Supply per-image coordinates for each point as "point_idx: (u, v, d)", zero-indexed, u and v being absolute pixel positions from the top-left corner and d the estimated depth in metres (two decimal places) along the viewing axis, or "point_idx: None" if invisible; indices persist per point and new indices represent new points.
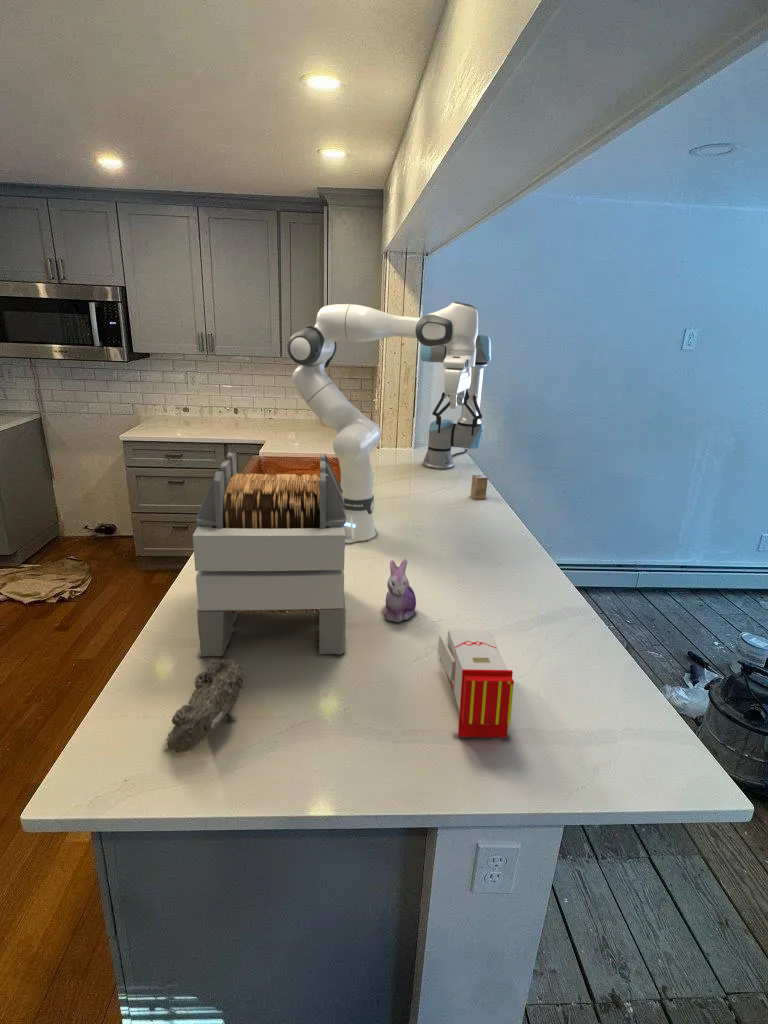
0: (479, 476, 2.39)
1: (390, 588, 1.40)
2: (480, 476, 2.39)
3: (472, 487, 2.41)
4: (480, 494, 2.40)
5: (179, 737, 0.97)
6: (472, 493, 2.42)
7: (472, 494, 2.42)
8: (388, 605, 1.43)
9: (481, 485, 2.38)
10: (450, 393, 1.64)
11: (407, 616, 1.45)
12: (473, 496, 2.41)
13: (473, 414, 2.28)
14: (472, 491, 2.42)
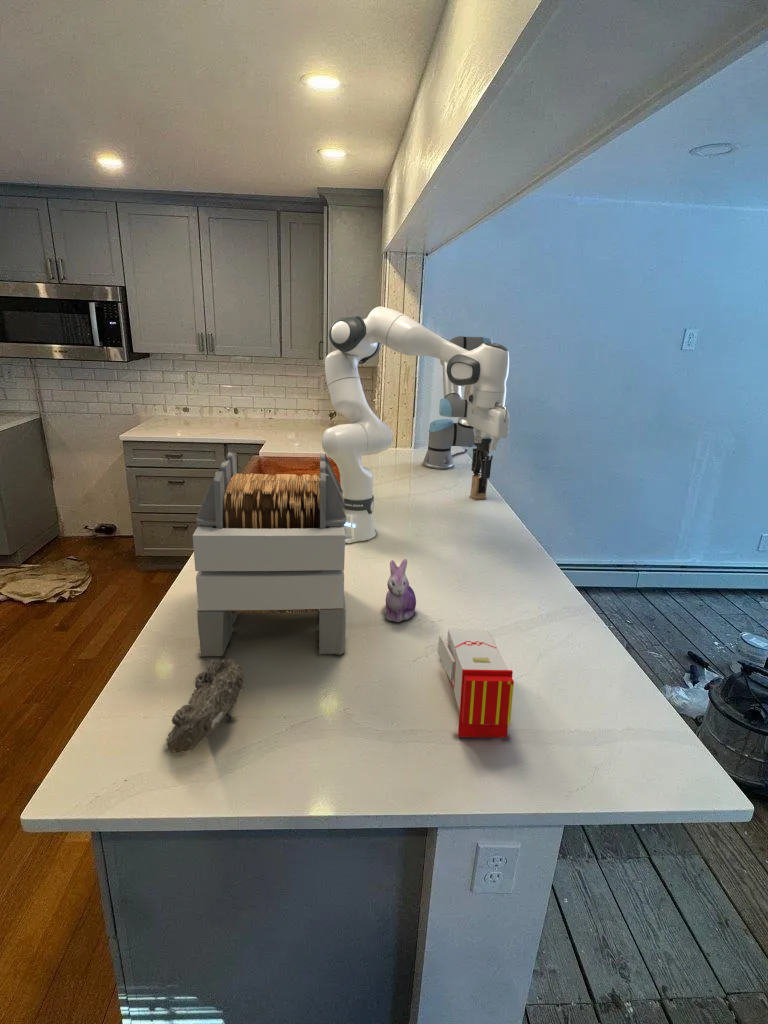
0: (479, 476, 2.39)
1: (390, 588, 1.40)
2: (480, 476, 2.39)
3: (472, 487, 2.41)
4: (480, 494, 2.40)
5: (179, 737, 0.97)
6: (472, 493, 2.42)
7: (472, 494, 2.42)
8: (388, 605, 1.43)
9: None
10: None
11: (407, 616, 1.45)
12: (473, 496, 2.41)
13: None
14: (472, 491, 2.42)
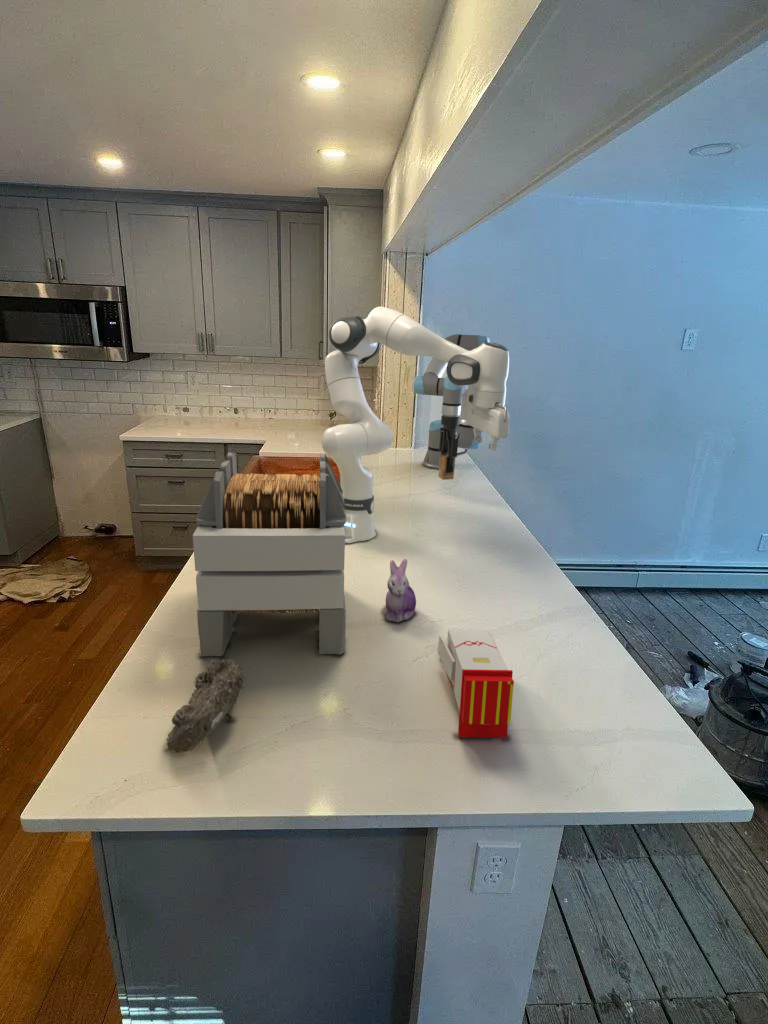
0: (447, 455, 2.36)
1: (390, 588, 1.40)
2: None
3: (440, 467, 2.38)
4: (448, 474, 2.36)
5: (179, 737, 0.97)
6: (440, 473, 2.38)
7: (440, 474, 2.38)
8: (388, 605, 1.43)
9: None
10: None
11: (407, 616, 1.45)
12: (441, 476, 2.38)
13: None
14: (440, 471, 2.38)
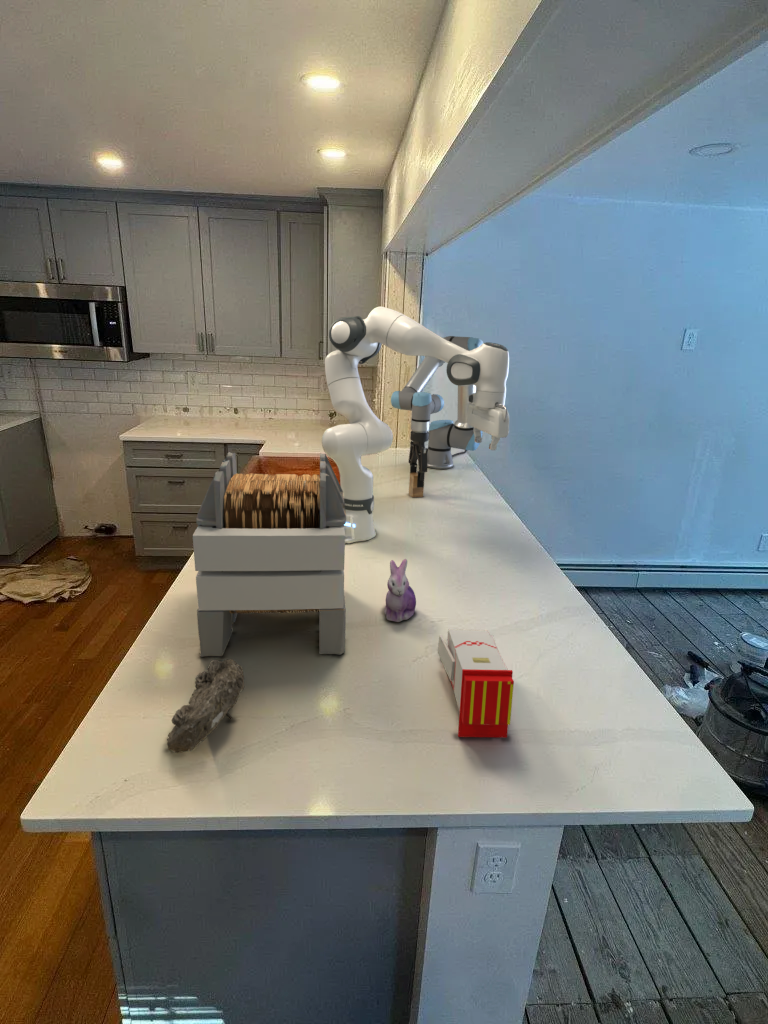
0: (416, 474, 2.38)
1: (390, 588, 1.40)
2: None
3: (410, 485, 2.40)
4: (417, 492, 2.39)
5: (179, 737, 0.97)
6: (410, 491, 2.41)
7: (410, 492, 2.41)
8: (388, 605, 1.43)
9: None
10: None
11: (407, 616, 1.45)
12: (411, 494, 2.40)
13: None
14: (410, 489, 2.41)
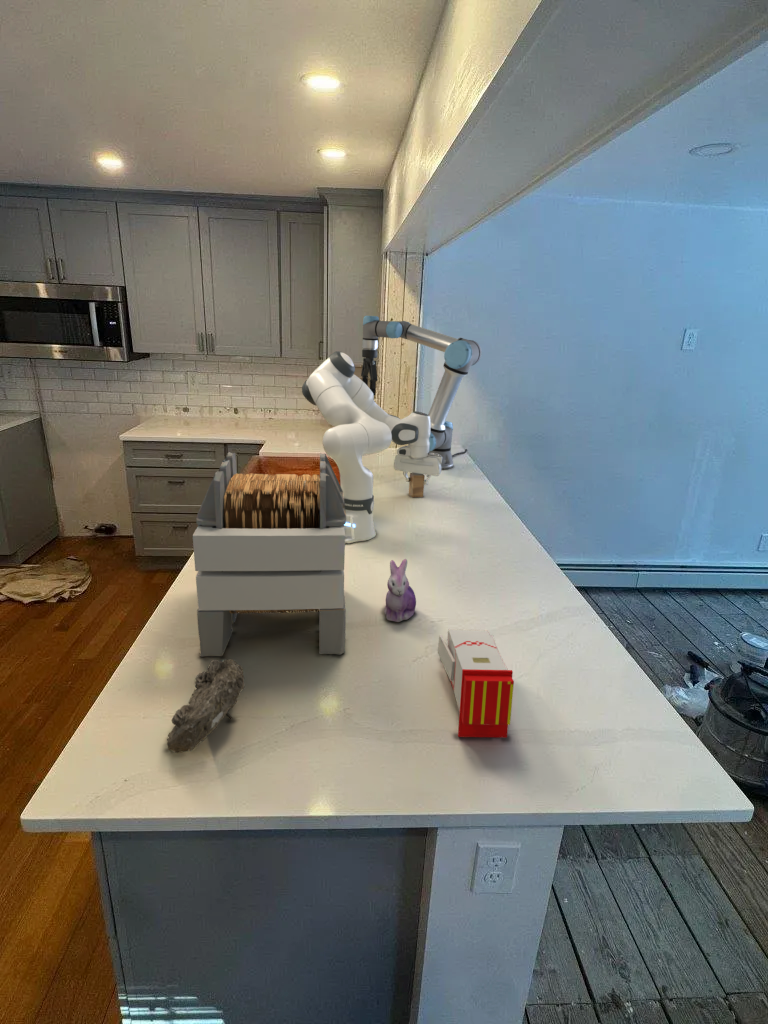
0: (416, 474, 2.38)
1: (390, 588, 1.40)
2: None
3: (410, 485, 2.40)
4: (417, 492, 2.39)
5: (179, 737, 0.97)
6: (410, 491, 2.41)
7: (410, 492, 2.41)
8: (388, 605, 1.43)
9: (418, 483, 2.37)
10: None
11: (407, 616, 1.45)
12: (411, 494, 2.40)
13: None
14: (410, 489, 2.41)
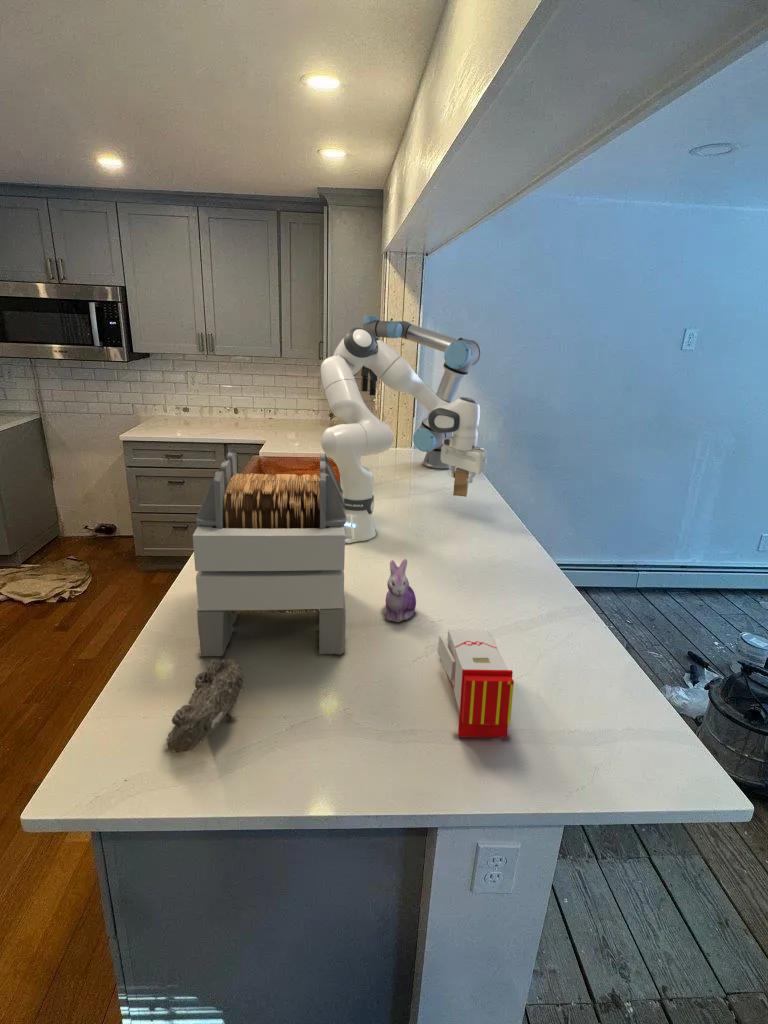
0: (461, 469, 2.09)
1: (390, 588, 1.40)
2: (463, 469, 2.09)
3: None
4: (459, 490, 2.09)
5: (179, 737, 0.97)
6: None
7: None
8: (388, 605, 1.43)
9: (460, 479, 2.08)
10: None
11: (407, 616, 1.45)
12: None
13: None
14: None
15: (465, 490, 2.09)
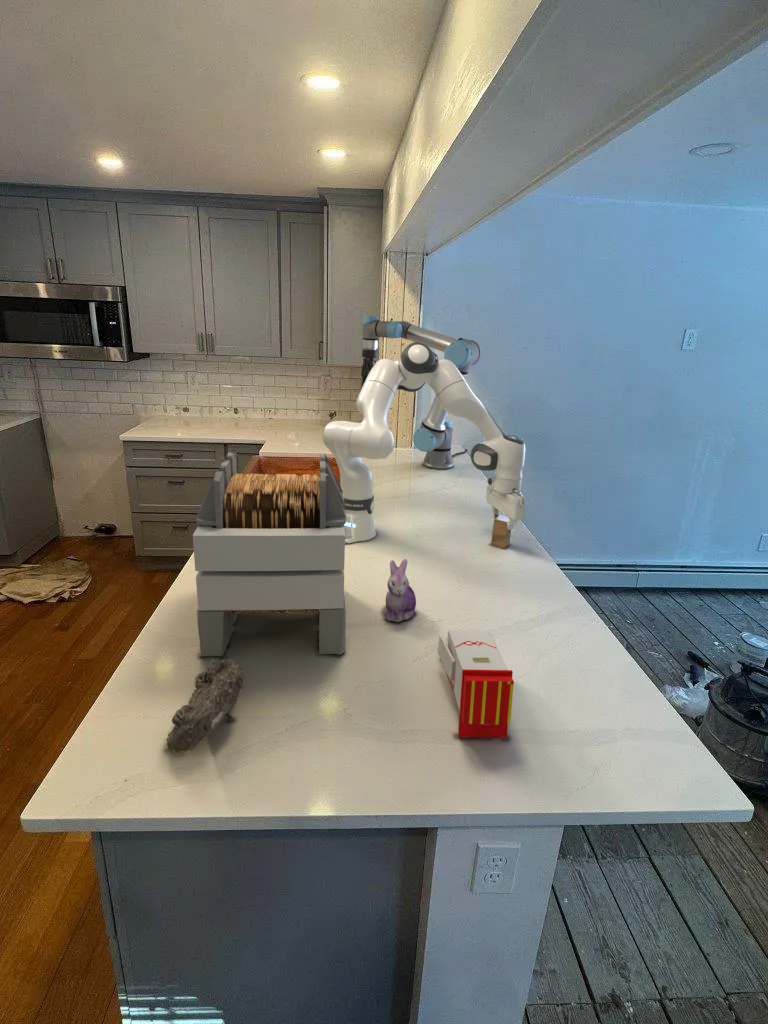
0: (502, 518, 1.91)
1: (390, 588, 1.40)
2: (504, 518, 1.91)
3: None
4: (497, 540, 1.92)
5: (179, 737, 0.97)
6: None
7: None
8: (388, 605, 1.43)
9: (499, 529, 1.91)
10: None
11: (407, 616, 1.45)
12: None
13: None
14: None
15: (503, 541, 1.91)
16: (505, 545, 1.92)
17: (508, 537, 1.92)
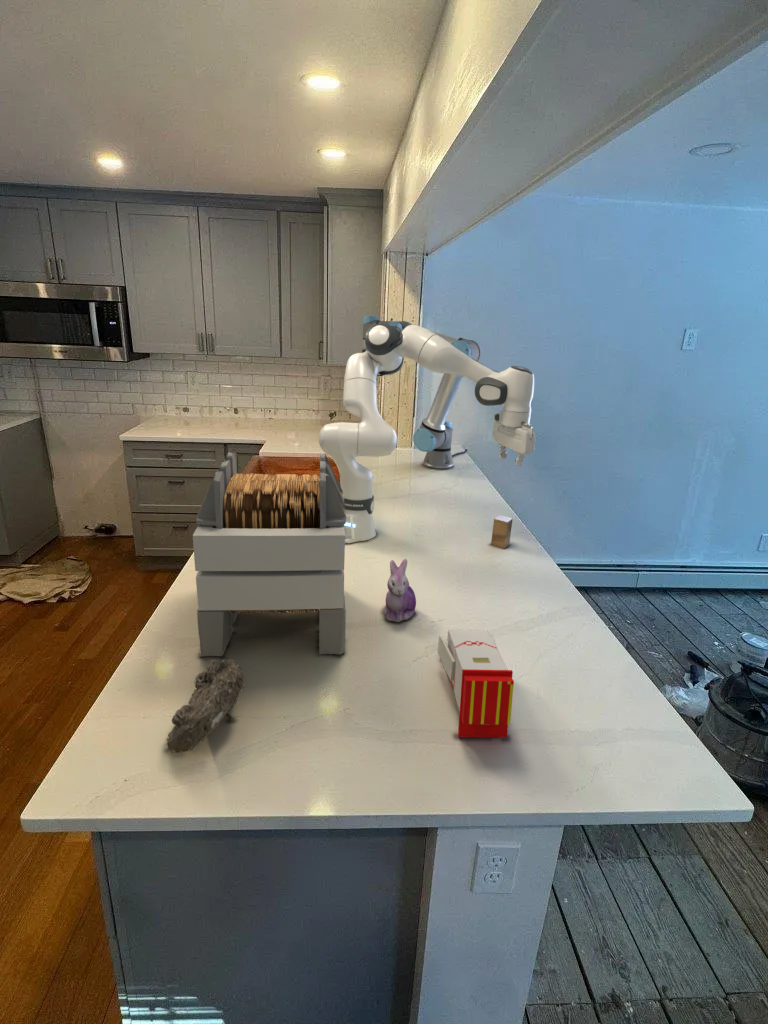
0: (502, 518, 1.91)
1: (390, 588, 1.40)
2: (504, 518, 1.91)
3: None
4: (497, 540, 1.92)
5: (179, 737, 0.97)
6: None
7: None
8: (388, 605, 1.43)
9: (499, 529, 1.91)
10: None
11: (407, 616, 1.45)
12: None
13: None
14: None
15: (503, 541, 1.91)
16: (505, 545, 1.92)
17: (508, 537, 1.92)
